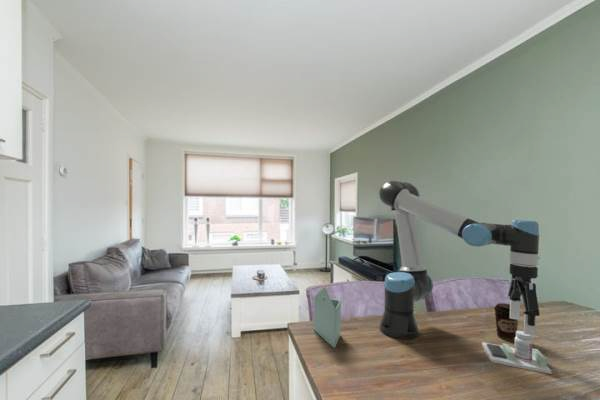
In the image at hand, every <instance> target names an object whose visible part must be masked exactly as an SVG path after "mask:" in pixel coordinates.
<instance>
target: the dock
mask: <svg viewBox="0 0 600 400" xmlns="http://www.w3.org/2000/svg"><path fill="white" fill-rule="evenodd" d="M481 346H482V348H483V349H484V351H485V354H486V355H487V357H488V360H489V361H490V362H491V363H494V364H500V365H505V366H509V367H515V368H520V369H524V370H528V371H529V370H531V371H535V372H539V373H545V374H551V375H552V370H551V369H550V368H549V366H548V358H546V357H545V356H544V355H543V354H542V352H541V351H540V350H539V349H538V348H533V347H532V361H523V360H520V359H518V358H517V357H515V347H512V346H510V345H509V344H508V343H503V342H502V343H501V345H500V344H494V343H489V342H484V341H482V342H481Z"/></svg>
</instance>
